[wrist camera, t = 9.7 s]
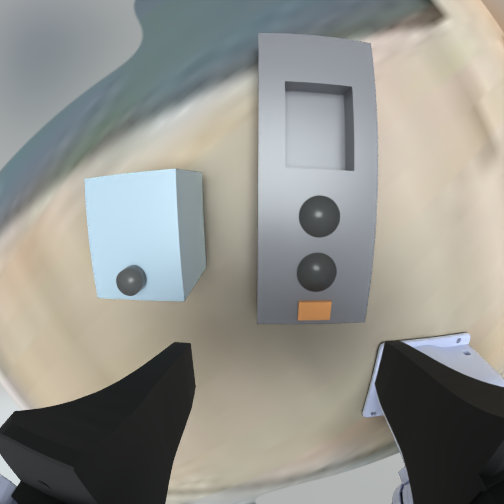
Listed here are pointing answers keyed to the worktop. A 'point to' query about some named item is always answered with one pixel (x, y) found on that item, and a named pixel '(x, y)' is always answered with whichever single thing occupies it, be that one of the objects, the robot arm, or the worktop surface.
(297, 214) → the grey control panel
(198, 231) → the block
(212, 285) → the worktop surface
